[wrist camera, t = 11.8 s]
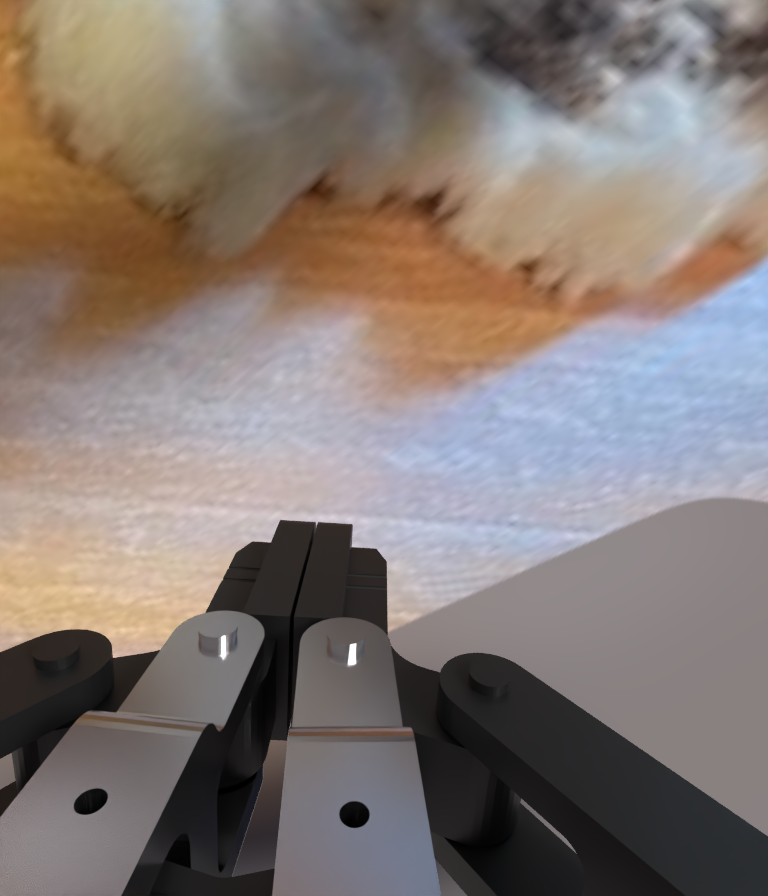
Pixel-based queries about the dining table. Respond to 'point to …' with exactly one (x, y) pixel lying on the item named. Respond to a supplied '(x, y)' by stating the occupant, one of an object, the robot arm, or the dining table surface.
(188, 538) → the dining table surface
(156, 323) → the dining table surface
